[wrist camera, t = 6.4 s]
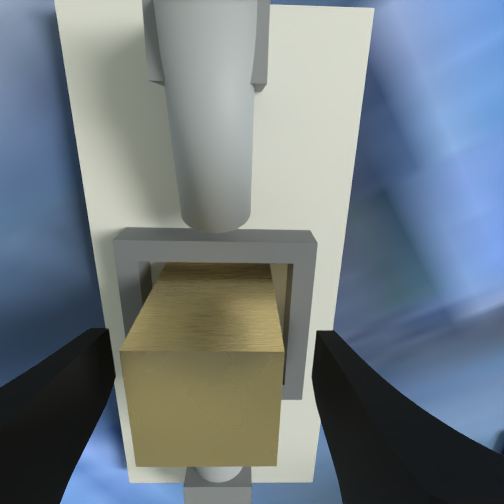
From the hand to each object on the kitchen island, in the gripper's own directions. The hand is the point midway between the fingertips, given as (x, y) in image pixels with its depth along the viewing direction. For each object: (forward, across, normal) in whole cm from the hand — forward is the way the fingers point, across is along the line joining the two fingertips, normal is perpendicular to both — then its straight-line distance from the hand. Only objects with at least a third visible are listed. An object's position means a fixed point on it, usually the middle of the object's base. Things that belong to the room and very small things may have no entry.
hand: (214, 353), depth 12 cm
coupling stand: (+4, 0, 0) cm, 4 cm away
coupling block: (+3, 0, 0) cm, 3 cm away
